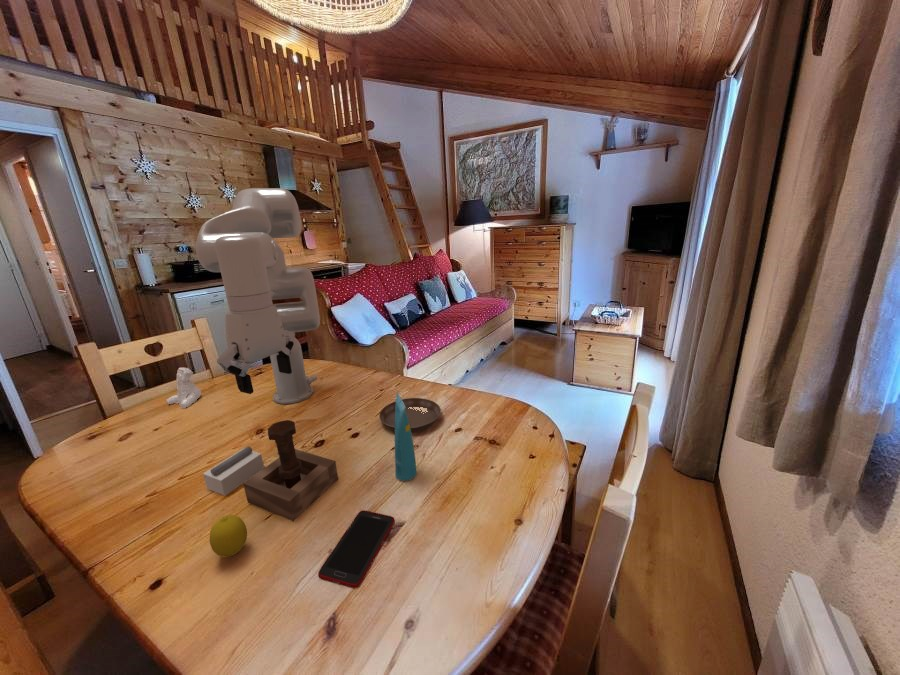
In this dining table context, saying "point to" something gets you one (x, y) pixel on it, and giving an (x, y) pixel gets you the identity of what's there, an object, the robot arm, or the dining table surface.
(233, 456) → the pin mount
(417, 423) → the plant saucer
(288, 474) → the bolt
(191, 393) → the seated beast figurine
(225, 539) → the lemon
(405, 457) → the tube
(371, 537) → the cell phone
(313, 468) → the socket
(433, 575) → the dining table surface
